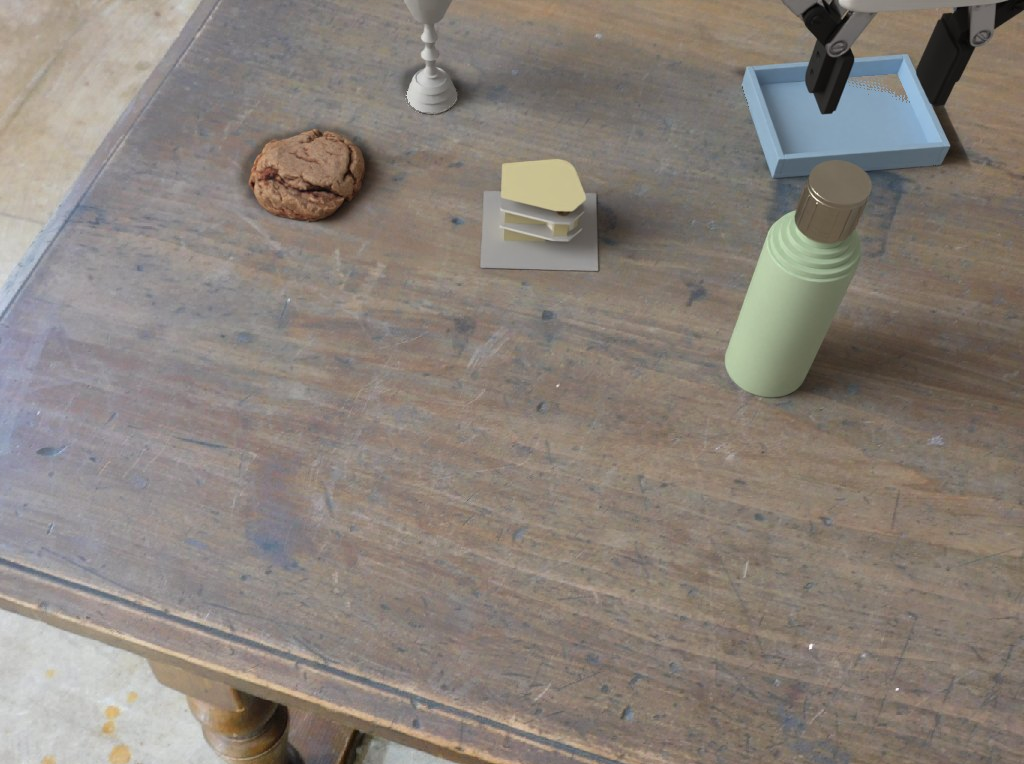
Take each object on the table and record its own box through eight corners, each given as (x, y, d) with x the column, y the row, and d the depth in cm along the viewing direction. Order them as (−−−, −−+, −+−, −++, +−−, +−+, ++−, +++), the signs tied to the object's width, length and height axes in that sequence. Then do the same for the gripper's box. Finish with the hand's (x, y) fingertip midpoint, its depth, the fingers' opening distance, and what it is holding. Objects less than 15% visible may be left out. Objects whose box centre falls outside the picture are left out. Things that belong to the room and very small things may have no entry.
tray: (899, 73, 103) (908, 53, 101) (940, 165, 96) (950, 145, 94) (741, 86, 102) (746, 66, 100) (772, 178, 96) (778, 159, 94)
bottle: (795, 329, 87) (873, 148, 71) (815, 394, 84) (902, 220, 67) (716, 335, 87) (776, 155, 71) (734, 401, 84) (801, 228, 67)
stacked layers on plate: (480, 268, 92) (481, 223, 87) (483, 191, 96) (484, 144, 92) (598, 271, 91) (605, 226, 87) (596, 193, 96) (603, 147, 91)
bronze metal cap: (845, 197, 73) (862, 157, 70) (862, 241, 71) (880, 202, 68) (787, 202, 73) (801, 162, 70) (802, 246, 71) (817, 206, 68)
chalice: (468, 121, 101) (468, -54, 86) (395, 124, 101) (383, -51, 86) (466, 69, 105) (466, -108, 89) (396, 71, 105) (384, -105, 90)
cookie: (388, 176, 98) (386, 151, 95) (303, 242, 94) (299, 218, 91) (313, 125, 101) (309, 100, 99) (228, 187, 98) (222, 162, 95)
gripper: (1167, -292, 49) (998, 41, 65) (795, -267, 49) (714, 62, 64) (1245, -204, 45) (1044, 128, 61) (840, -176, 45) (742, 150, 60)
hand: (875, 91), depth 62 cm, fingers open, 5 cm apart
